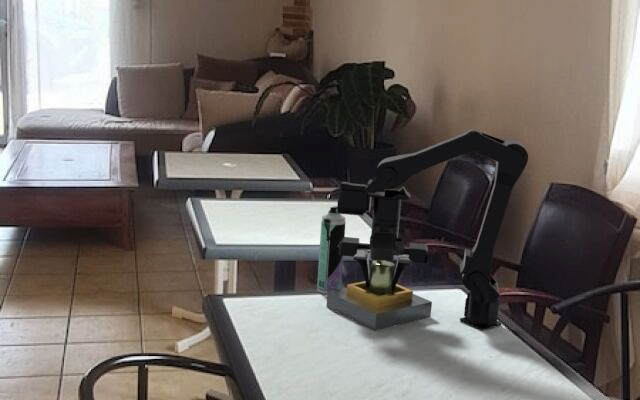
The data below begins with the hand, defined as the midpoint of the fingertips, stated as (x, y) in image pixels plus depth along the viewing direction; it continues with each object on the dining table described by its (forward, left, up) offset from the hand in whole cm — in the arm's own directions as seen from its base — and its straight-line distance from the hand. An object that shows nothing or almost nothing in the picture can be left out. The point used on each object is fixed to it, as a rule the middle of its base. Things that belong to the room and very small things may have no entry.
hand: (380, 288), depth 175 cm
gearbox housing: (0, 0, -5) cm, 5 cm away
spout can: (0, 0, -2) cm, 3 cm away
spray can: (+16, +1, -6) cm, 17 cm away
